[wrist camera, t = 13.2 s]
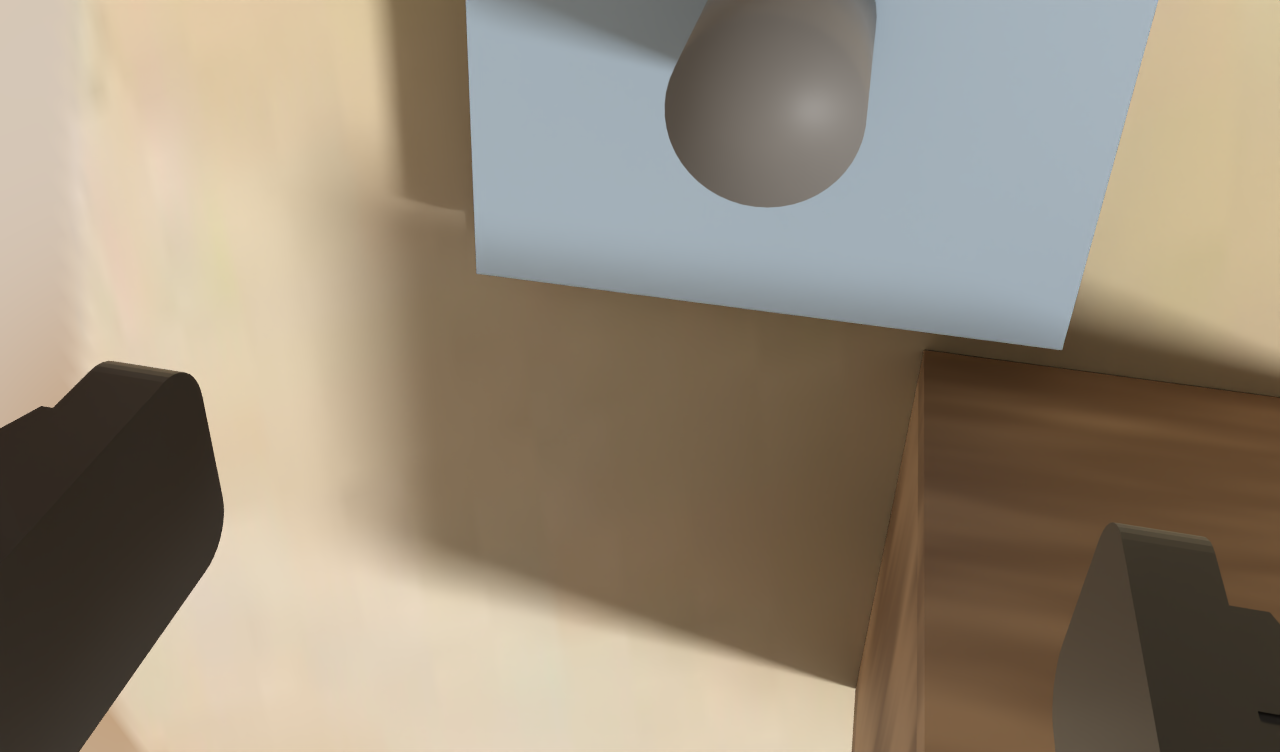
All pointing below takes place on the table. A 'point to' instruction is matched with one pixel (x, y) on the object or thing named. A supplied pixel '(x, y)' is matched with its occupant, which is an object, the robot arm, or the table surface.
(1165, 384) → the box
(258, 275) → the table surface
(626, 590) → the table surface
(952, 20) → the lid
